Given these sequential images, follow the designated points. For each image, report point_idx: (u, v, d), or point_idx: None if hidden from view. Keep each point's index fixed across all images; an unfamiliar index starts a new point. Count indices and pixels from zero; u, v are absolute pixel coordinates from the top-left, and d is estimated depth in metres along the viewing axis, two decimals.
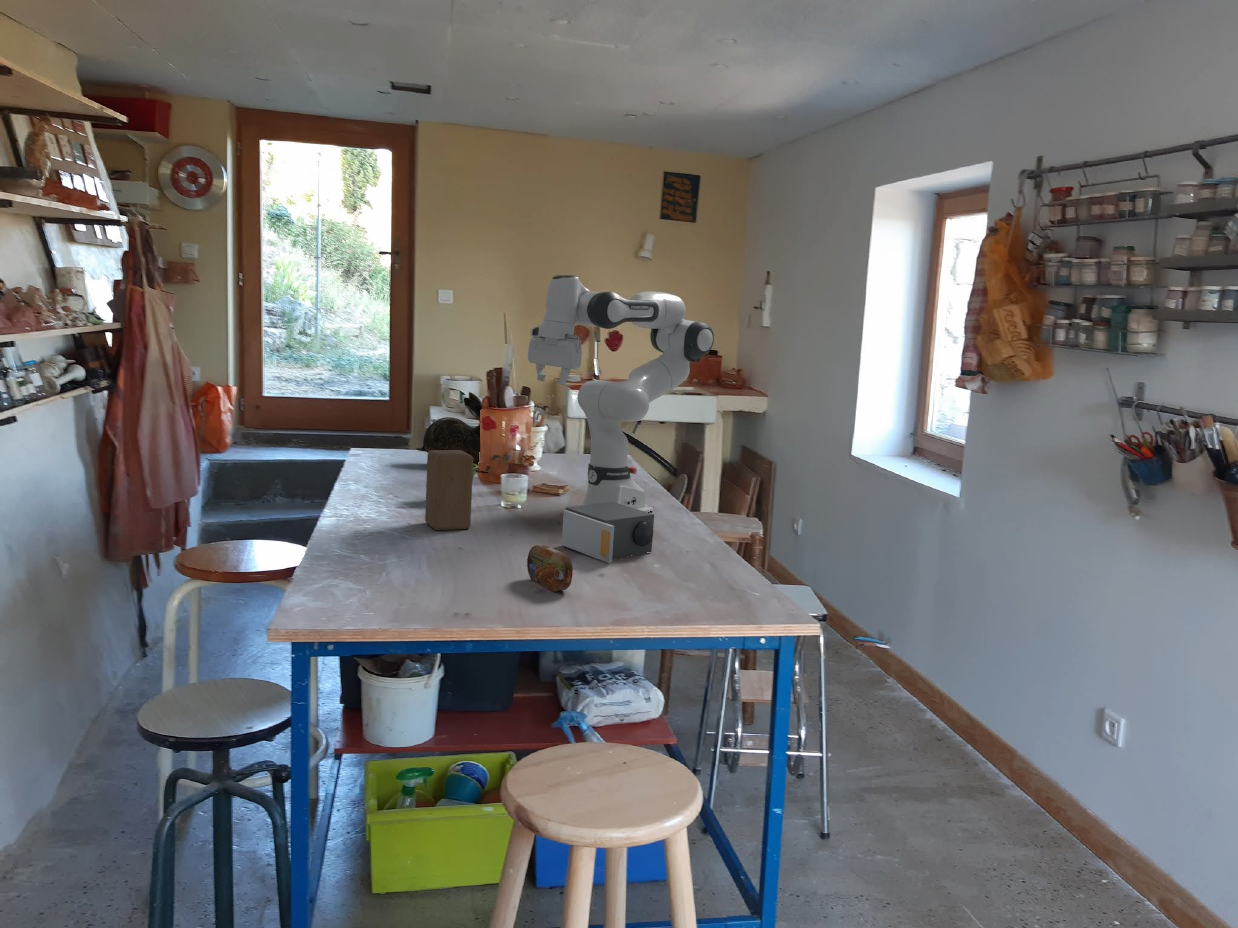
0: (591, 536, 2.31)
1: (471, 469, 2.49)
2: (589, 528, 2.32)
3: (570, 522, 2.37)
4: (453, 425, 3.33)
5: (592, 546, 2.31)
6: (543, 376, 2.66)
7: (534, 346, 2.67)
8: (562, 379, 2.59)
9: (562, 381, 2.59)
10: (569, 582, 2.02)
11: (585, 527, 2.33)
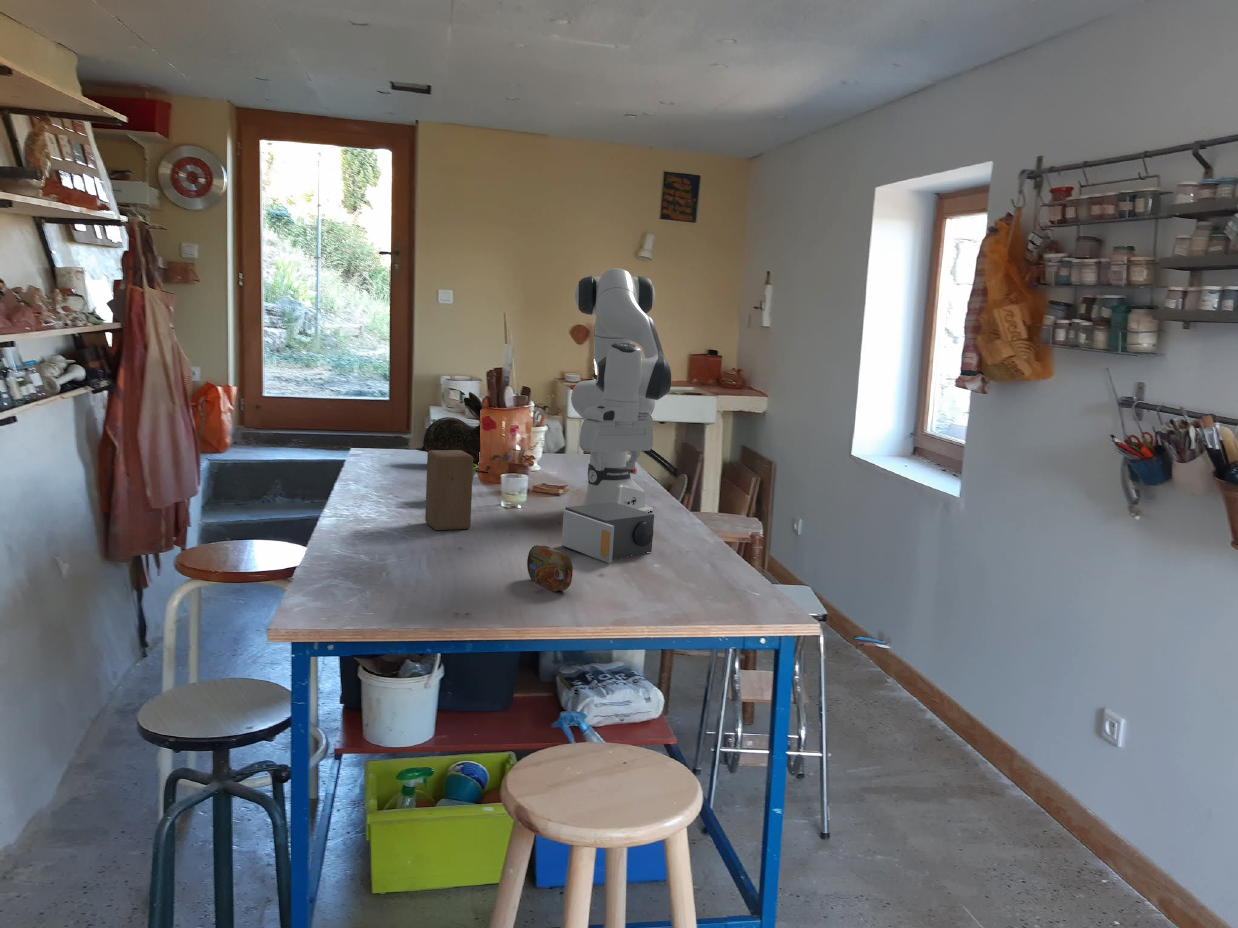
0: (591, 536, 2.31)
1: (471, 469, 2.49)
2: (589, 528, 2.32)
3: (570, 522, 2.37)
4: (453, 425, 3.33)
5: (592, 546, 2.31)
6: None
7: (598, 432, 2.19)
8: None
9: None
10: (569, 582, 2.02)
11: (585, 527, 2.33)
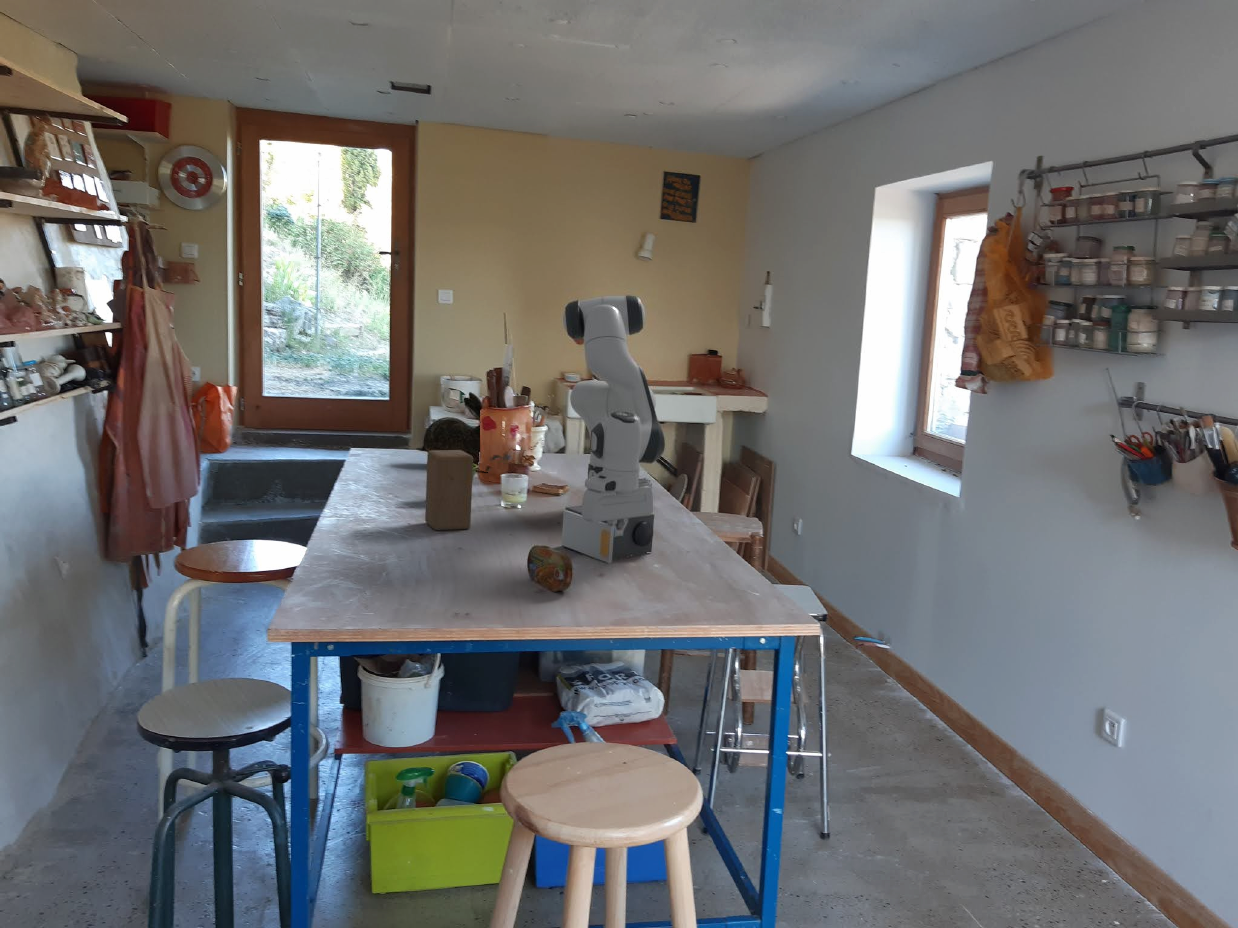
0: (591, 536, 2.31)
1: (471, 469, 2.49)
2: (589, 528, 2.32)
3: (570, 522, 2.37)
4: (453, 425, 3.33)
5: (592, 546, 2.31)
6: None
7: (600, 502, 2.21)
8: None
9: None
10: (569, 582, 2.02)
11: (585, 527, 2.33)
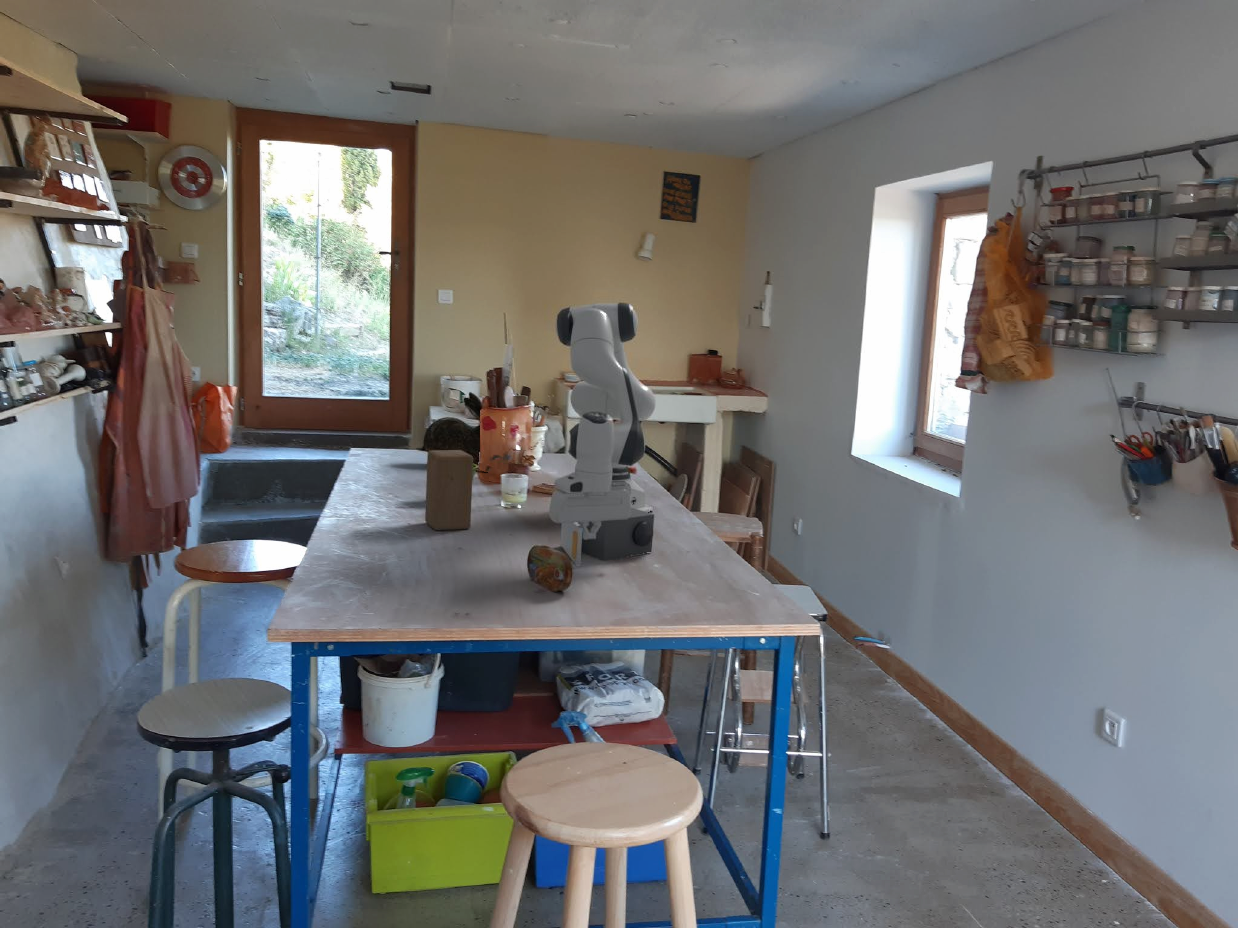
0: (571, 537, 2.29)
1: (471, 469, 2.49)
2: (570, 529, 2.30)
3: None
4: (453, 425, 3.33)
5: (571, 547, 2.29)
6: None
7: (566, 503, 2.18)
8: None
9: None
10: (569, 582, 2.02)
11: (569, 528, 2.31)
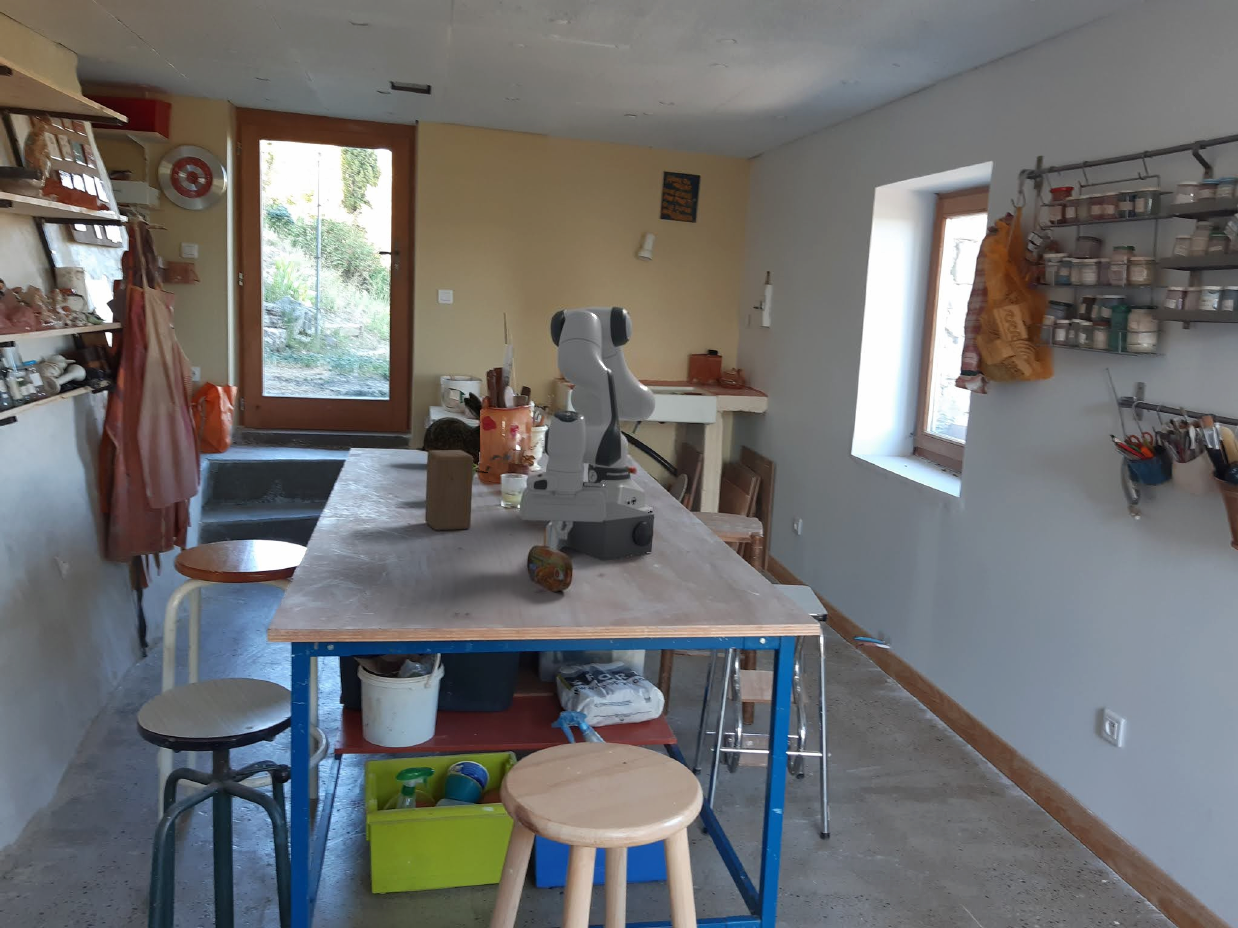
0: None
1: (471, 469, 2.49)
2: None
3: None
4: (453, 425, 3.33)
5: None
6: None
7: (531, 500, 2.19)
8: None
9: None
10: (569, 582, 2.02)
11: None
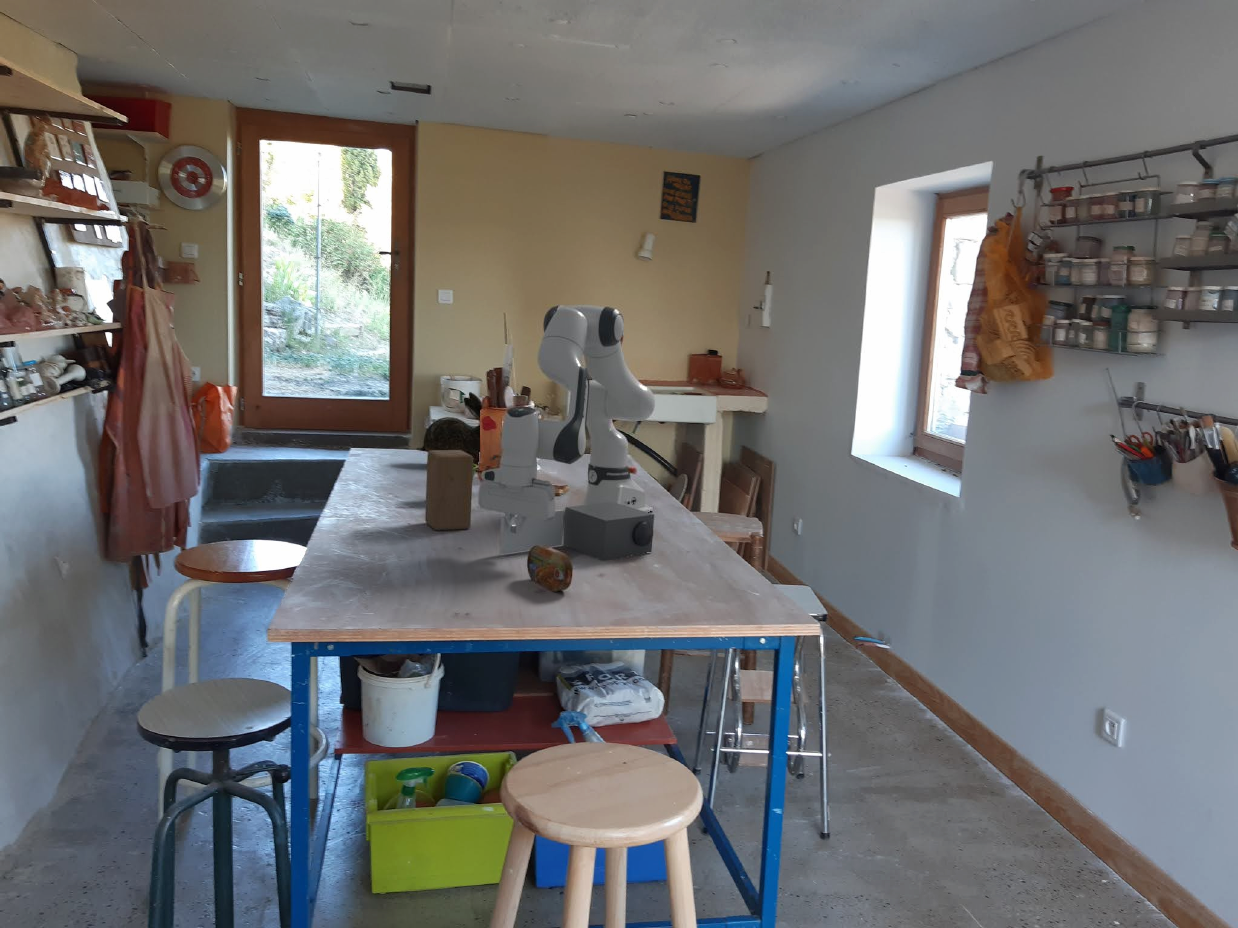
0: None
1: (471, 469, 2.49)
2: None
3: None
4: (453, 425, 3.33)
5: None
6: None
7: (486, 490, 2.27)
8: (519, 527, 2.25)
9: (519, 529, 2.26)
10: (569, 582, 2.02)
11: None
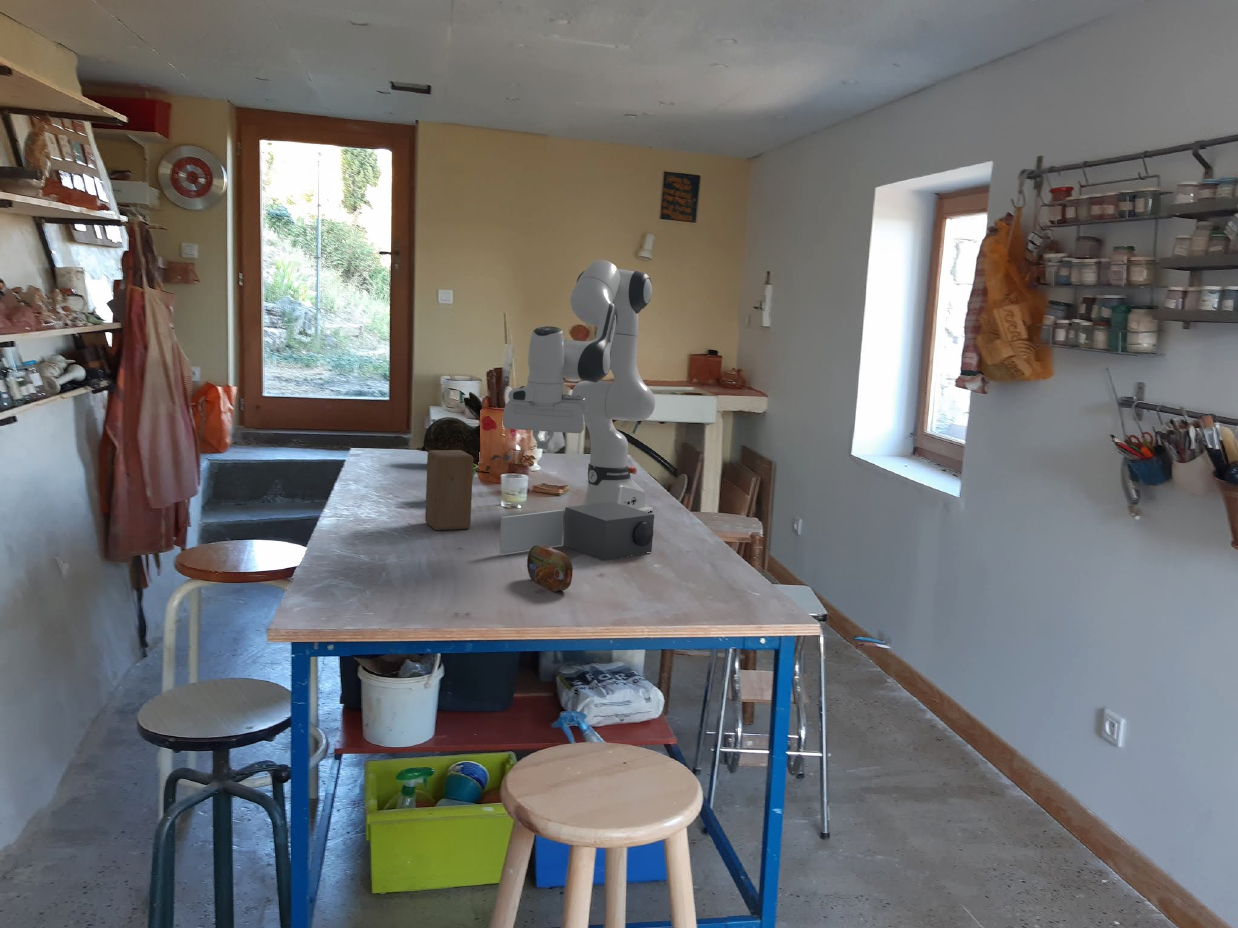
0: None
1: (471, 469, 2.49)
2: None
3: None
4: (453, 425, 3.33)
5: None
6: None
7: (512, 410, 2.33)
8: (548, 443, 2.36)
9: (548, 445, 2.36)
10: (569, 582, 2.02)
11: None
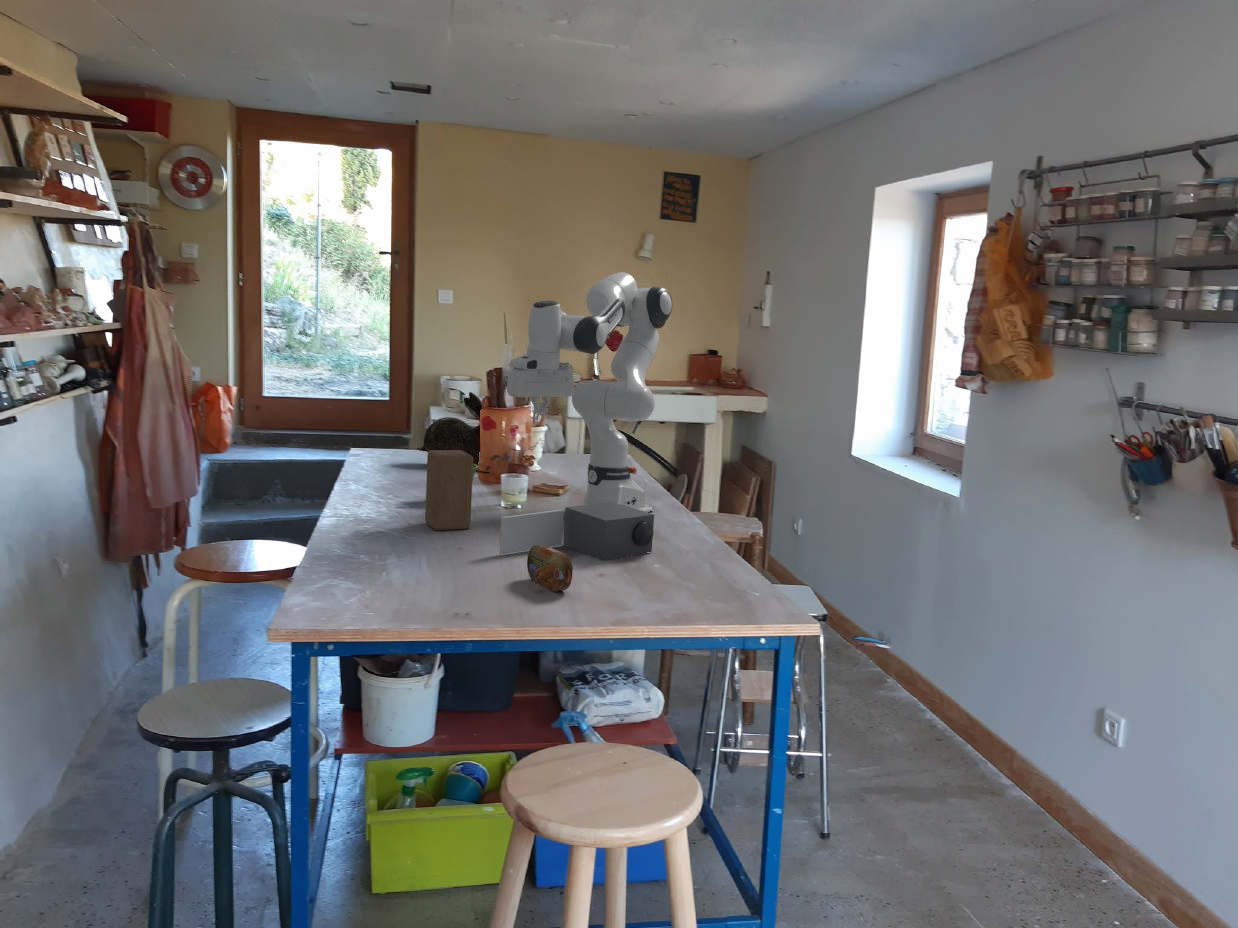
0: None
1: (471, 469, 2.49)
2: None
3: None
4: (453, 425, 3.33)
5: None
6: None
7: (522, 379, 2.49)
8: None
9: None
10: (569, 582, 2.02)
11: None
